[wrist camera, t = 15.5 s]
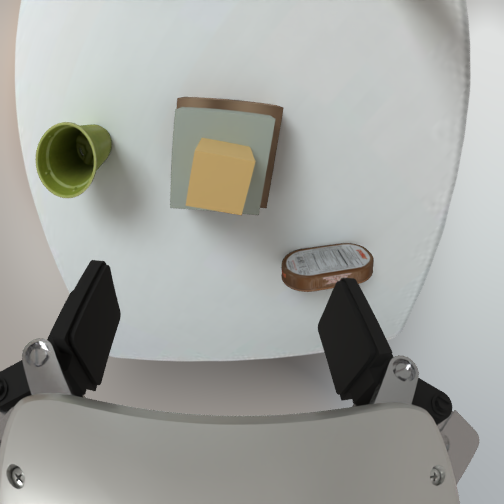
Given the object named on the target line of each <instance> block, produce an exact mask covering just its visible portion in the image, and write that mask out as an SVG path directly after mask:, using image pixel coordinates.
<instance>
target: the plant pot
mask: <svg viewBox="0 0 504 504" xmlns="http://www.w3.org/2000/svg"><path fill="white" fill-rule="evenodd" d="M111 145H112V144H111V138H110V135H109V133H108V132H107V130H106V129H104V128H103V127H101V126H99V125H82V126H79V125H77V124H74V123H70V122H63V123H58V124H56V125H54V126H52V127H51V128H49V129H48V130H47V131H46V132H45V133H44V135H43V136H42V138H41V139H40V142H39V144H38V147H37V150H36V168H37V172H38V175H39V178H40V180H41V182H42V183H43V185H44V186H45V187H46V188H47V189H48V190H49V191H50V192H51V193H53V194H54V195H56V196H59V197H62V198H73V197H76V196H79V195H80V194H82V193H83V192H84V191H85V190H86V189H87V188H88V187H89V186H90V184H91V183H92V181H93V178H94V176H95V173H96V170H97V169H98V168H99V167H100V166H101V165H102V163H103V162H104V161H105V160H106V159H107V158H108V156H109V153H110V150H111ZM80 148H81V150H82V153H83V155H81V153H80Z"/></svg>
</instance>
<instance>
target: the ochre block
mask: <svg viewBox="0 0 504 504" xmlns="http://www.w3.org/2000/svg"><path fill="white" fill-rule="evenodd" d="M254 166H255V159H254V156H253V153H252V150H251V148H250V147H249V146H244V145H239V144H234V143H229V142H224V141H219V140H213V139H207V138H201V140H200V142H199V143H198V145H197V147H196V149H195V152H194V157H193V163H192V168H191V174H190V180H189V186H188V193H187V199H186V206H190V207H196V208H202V209H208V210H214V211H220V212H226V213H231V214H237V215H242V212H243V208H244V204H245V200H246V196H247V193H248V189H249V185H250V181H251V177H252V173H253V170H254Z"/></svg>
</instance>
